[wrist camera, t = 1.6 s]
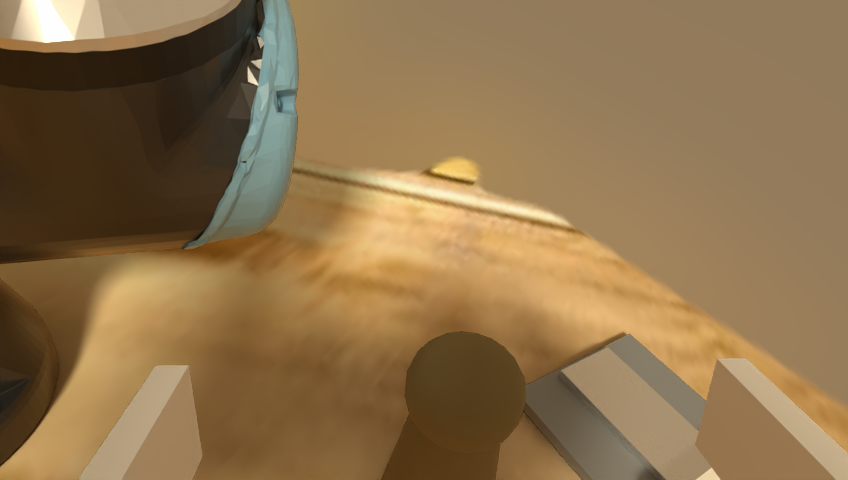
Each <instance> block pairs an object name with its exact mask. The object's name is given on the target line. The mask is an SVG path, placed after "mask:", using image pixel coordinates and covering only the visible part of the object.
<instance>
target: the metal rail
mask: <svg viewBox="0 0 848 480" xmlns="http://www.w3.org/2000/svg"><path fill="white" fill-rule="evenodd" d="M558 378H559V379H560V380H561V381H562V382H563V383H564V384H565V385H566V386H567V387H568V388H569V389H570V390H571V391H572V393H573V394H574V395H575V396H576V397H577V398H578V399H579V400H580V401H581V402H582V403H583V404H584V405H585V406H586V407H587V408H588V409H589V410H590V412H591V413H592V414H593V415H594V416H595V417H596V418H597V419H598V420H599V421H600V422H601V423H602V424H603V425H604V426H605V427H606V428H607V430H608V431H609V432H610V433H611V434H612V435H613V436H614V437H615V438H616V439H617V440H618V441H619V442H620V443H621V444H622V445H623V446H624V447H625V449H626V450H627V451H628V452H629V453H630V454H631V455H632V456H633V457H634V458H635V459H636V460H637V461H638V462H639V463H640V464H641V465H642V466H643V468H644V469H645V470H646V471H647V472H648V473H649V474H650V475H651V476H652V477H653V478H654V479H655V480H696V479H697V478H699V477H700V476H701V475H703V474H704V473H705V472H707V471H708V470H709V469H711V468H712V467H711V466H710V465H709V463H708V462H707V460H706V459H705V458H704V456H703V455H702V454H701V452H700V451H699V450H698V448H697V447H696V445H695V443H696V439H697V435H698V432H699V431H698V430H697V429H696V428H695V427H693V426H692V425H691V424H690V423H689V422H688V421H687V420H686V419H685V418H684V417H683V416H682V415H681V414H679V413H678V412H677V411H676V410H675V409H674V408H673V407H672V406H671V405H670V404H669V403H668V402H667V401H665V400H664V399H663V398H662V397H661V396H660V395H659V394H658V393H657V392H656V391H655V390H654V389H653V388H651V387H650V386H649V385H648V384H647V383H646V382H645V381H644V380H643V379H642V378H641V377H640V376H639V375H637V374H636V373H635V372H634V371H633V370H632V369H631V368H630V367H629V366H628V365H627V364H626V363H625V362H623V361H622V360H621V359H620V358H619V357H618V356H617V355H616V354H615V353H614V352H613V351H612V350H611V349H609V348H608V347H607V348H605V349H603V350H601V351H599V352H597V353H595V354H593V355H591V356H589V357H587V358H585V359H583V360H581V361H579V362H577V363H575V364H573V365H571V366H569V367H567V368H565V369H563V370H561V371H560V374H559V376H558Z"/></svg>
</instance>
